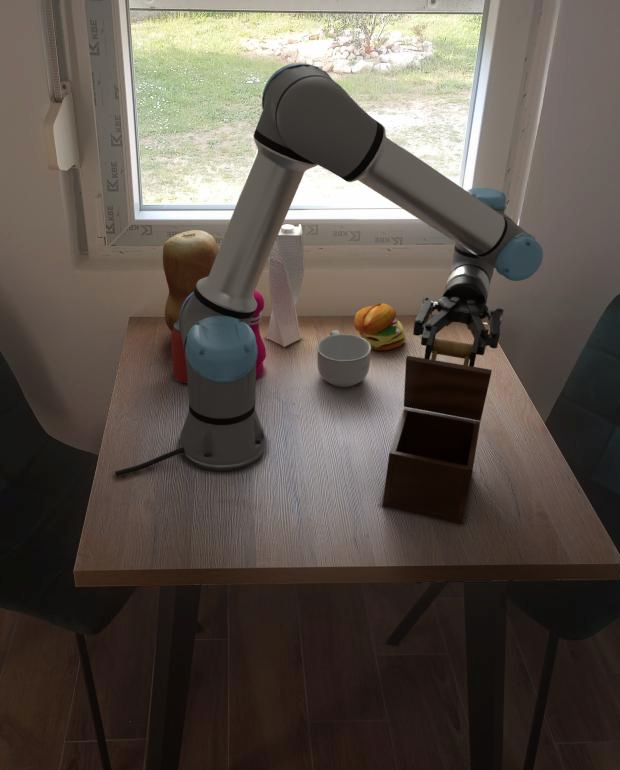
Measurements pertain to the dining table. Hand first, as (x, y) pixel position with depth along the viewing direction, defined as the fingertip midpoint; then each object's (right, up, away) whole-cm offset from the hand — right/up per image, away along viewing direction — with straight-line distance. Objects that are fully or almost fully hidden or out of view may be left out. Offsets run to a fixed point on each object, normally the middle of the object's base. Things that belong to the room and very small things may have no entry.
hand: (449, 356), depth 121 cm
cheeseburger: (-2, +5, +56) cm, 56 cm away
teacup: (-12, -3, +44) cm, 45 cm away
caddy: (-1, -22, +13) cm, 25 cm away
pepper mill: (-31, -2, +44) cm, 54 cm away
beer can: (-43, -3, +42) cm, 61 cm away
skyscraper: (-24, +6, +57) cm, 62 cm away
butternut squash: (-43, +6, +56) cm, 70 cm away
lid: (0, -5, +6) cm, 8 cm away
